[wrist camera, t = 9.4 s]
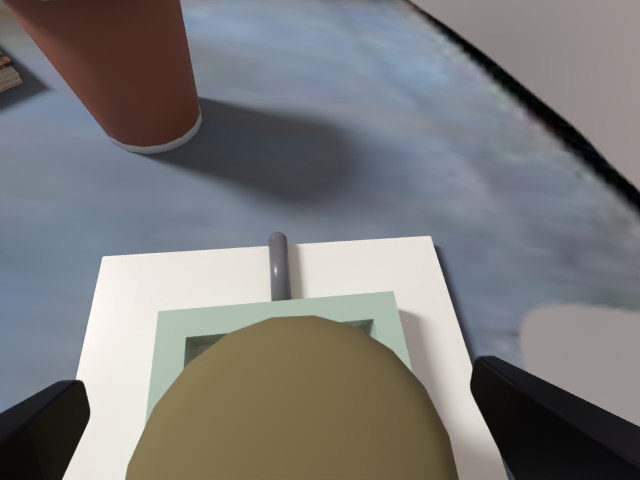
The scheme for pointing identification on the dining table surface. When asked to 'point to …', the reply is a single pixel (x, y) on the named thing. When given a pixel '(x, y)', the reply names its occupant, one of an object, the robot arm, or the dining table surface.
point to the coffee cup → (121, 65)
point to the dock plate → (257, 305)
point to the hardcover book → (7, 73)
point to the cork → (295, 411)
